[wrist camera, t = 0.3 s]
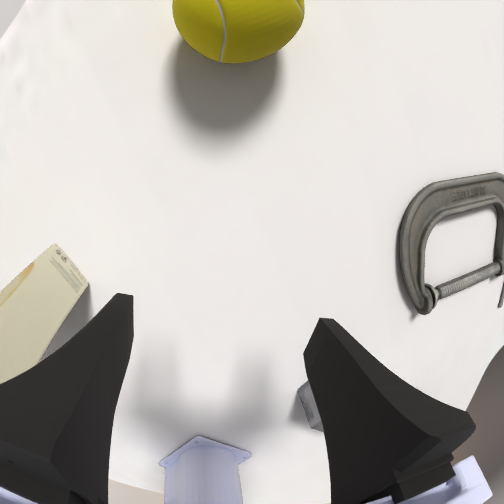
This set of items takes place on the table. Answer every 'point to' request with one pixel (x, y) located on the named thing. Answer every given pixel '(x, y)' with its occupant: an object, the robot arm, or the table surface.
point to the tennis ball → (237, 27)
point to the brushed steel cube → (310, 407)
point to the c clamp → (427, 216)
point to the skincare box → (36, 310)
